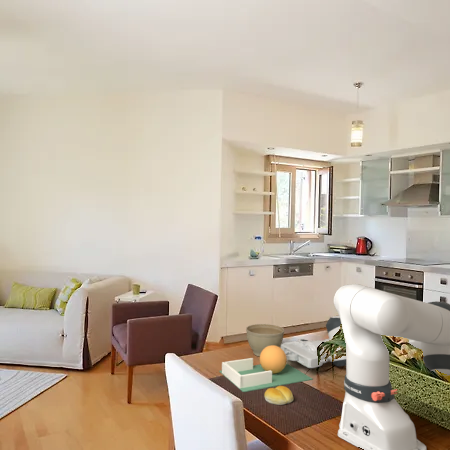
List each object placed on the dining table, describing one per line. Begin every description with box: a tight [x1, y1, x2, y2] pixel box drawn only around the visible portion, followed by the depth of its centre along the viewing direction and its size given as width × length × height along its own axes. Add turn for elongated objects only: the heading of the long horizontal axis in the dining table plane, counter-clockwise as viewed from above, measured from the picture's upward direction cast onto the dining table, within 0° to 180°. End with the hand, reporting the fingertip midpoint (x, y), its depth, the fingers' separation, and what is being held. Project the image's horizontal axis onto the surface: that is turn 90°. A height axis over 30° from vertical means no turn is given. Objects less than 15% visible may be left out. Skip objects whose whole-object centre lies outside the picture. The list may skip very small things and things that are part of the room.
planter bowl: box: [245, 323, 285, 357], centre depth 174 cm, size 16×16×11 cm
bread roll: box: [263, 385, 294, 406], centre depth 130 cm, size 8×9×4 cm
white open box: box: [221, 357, 272, 389], centre depth 146 cm, size 15×12×4 cm
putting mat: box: [218, 362, 314, 393], centre depth 150 cm, size 20×28×1 cm
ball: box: [259, 345, 288, 374], centre depth 152 cm, size 10×10×10 cm
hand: (283, 357), depth 154 cm, fingers closed
